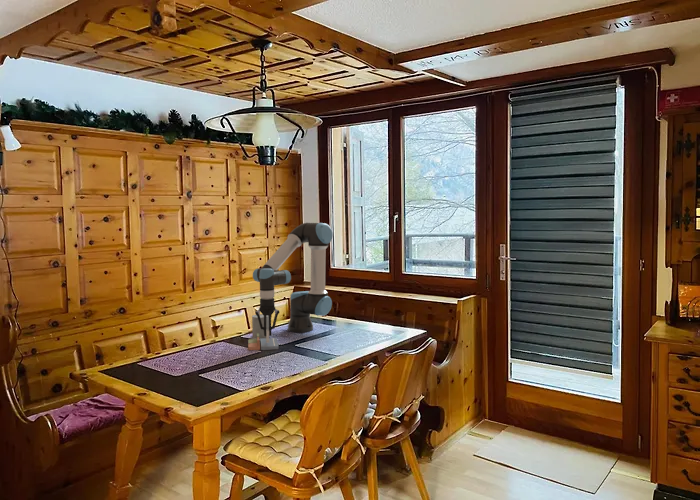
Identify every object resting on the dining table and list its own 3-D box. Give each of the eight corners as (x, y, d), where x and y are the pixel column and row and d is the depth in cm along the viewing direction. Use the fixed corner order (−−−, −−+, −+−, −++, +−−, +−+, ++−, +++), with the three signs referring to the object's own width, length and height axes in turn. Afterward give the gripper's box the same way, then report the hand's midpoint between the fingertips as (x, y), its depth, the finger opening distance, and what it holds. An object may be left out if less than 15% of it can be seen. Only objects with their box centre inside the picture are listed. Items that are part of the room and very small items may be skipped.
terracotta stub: (259, 345, 289) (259, 337, 289) (260, 349, 281) (259, 340, 281) (248, 346, 288) (248, 337, 288) (248, 350, 280) (248, 341, 280)
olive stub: (259, 341, 298) (259, 333, 298) (259, 345, 290) (259, 336, 290) (248, 342, 297) (248, 333, 297) (248, 345, 289) (248, 337, 289)
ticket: (276, 340, 300) (276, 337, 300) (278, 349, 283) (278, 345, 283) (260, 341, 299) (260, 338, 299) (261, 350, 281) (261, 346, 281)
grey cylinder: (271, 335, 313) (270, 314, 312) (266, 339, 303) (266, 317, 302) (254, 334, 314) (254, 314, 313) (250, 339, 304) (249, 317, 303)
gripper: (279, 296, 289) (279, 339, 291) (254, 297, 286) (255, 340, 288) (280, 298, 281) (280, 343, 283) (254, 299, 279) (255, 344, 281)
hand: (267, 341), depth 286 cm, fingers closed
